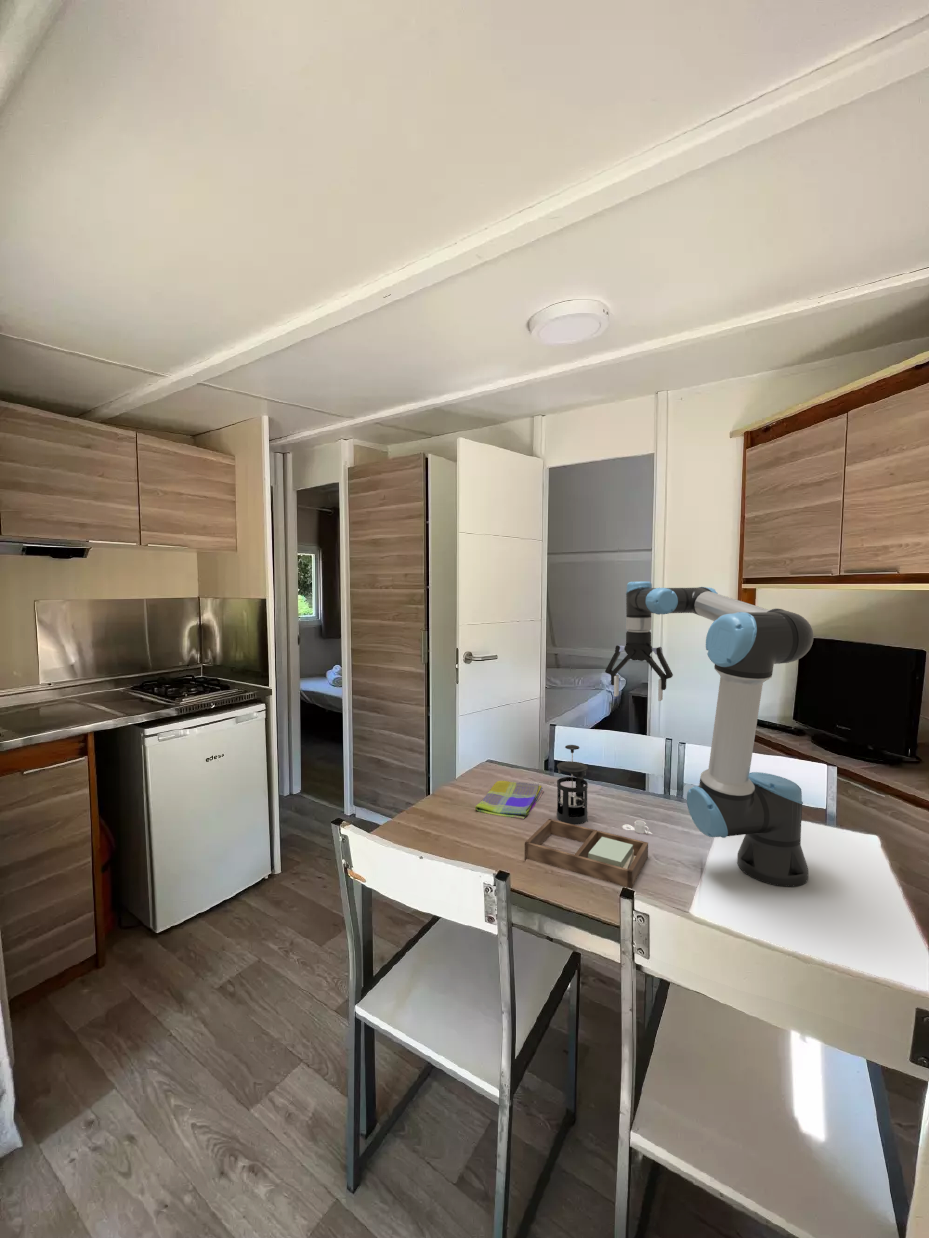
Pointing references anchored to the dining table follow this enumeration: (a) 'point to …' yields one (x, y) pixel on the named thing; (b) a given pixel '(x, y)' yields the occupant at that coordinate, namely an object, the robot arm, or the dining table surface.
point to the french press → (571, 802)
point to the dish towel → (510, 799)
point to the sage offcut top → (611, 852)
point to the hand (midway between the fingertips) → (637, 697)
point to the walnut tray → (585, 853)
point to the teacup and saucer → (637, 827)
